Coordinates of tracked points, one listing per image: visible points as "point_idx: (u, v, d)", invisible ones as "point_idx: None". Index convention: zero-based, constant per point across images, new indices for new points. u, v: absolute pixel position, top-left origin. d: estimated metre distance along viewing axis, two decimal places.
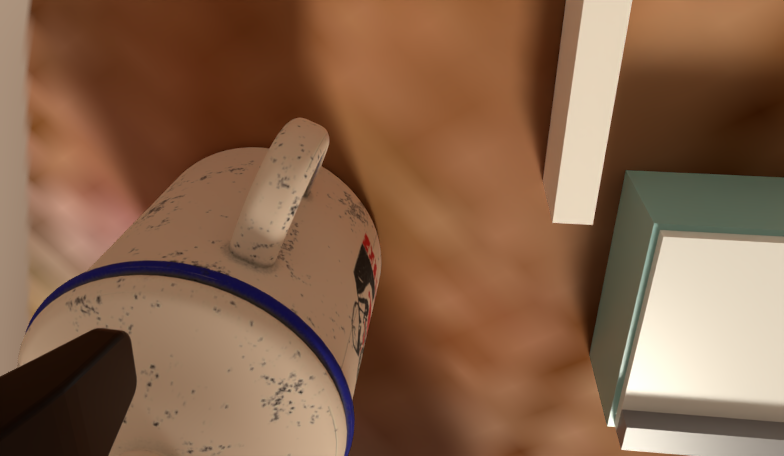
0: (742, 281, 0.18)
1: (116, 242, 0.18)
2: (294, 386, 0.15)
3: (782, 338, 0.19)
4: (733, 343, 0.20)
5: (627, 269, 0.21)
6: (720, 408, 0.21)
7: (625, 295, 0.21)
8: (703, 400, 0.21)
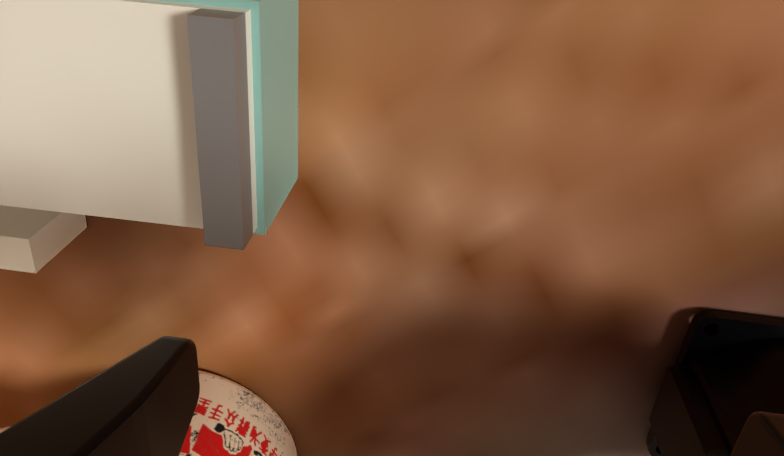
0: (2, 119, 0.16)
1: None
2: None
3: (65, 60, 0.15)
4: (87, 116, 0.16)
5: None
6: (192, 116, 0.15)
7: None
8: (184, 138, 0.16)
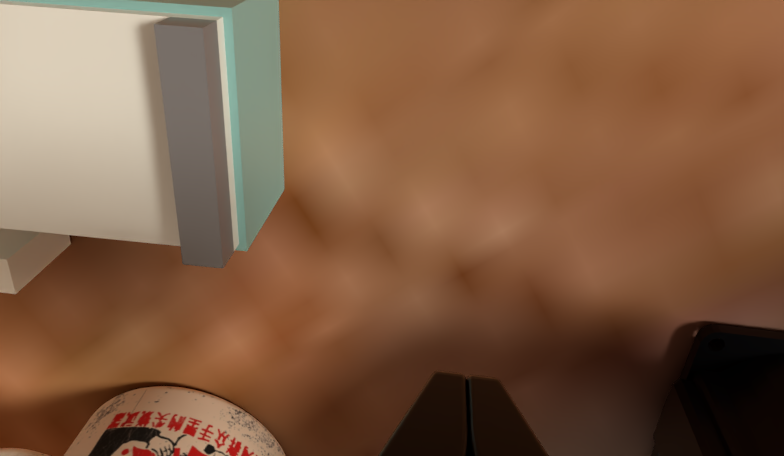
0: None
1: None
2: None
3: (31, 74, 0.14)
4: (57, 131, 0.15)
5: None
6: (166, 130, 0.15)
7: None
8: (158, 153, 0.15)
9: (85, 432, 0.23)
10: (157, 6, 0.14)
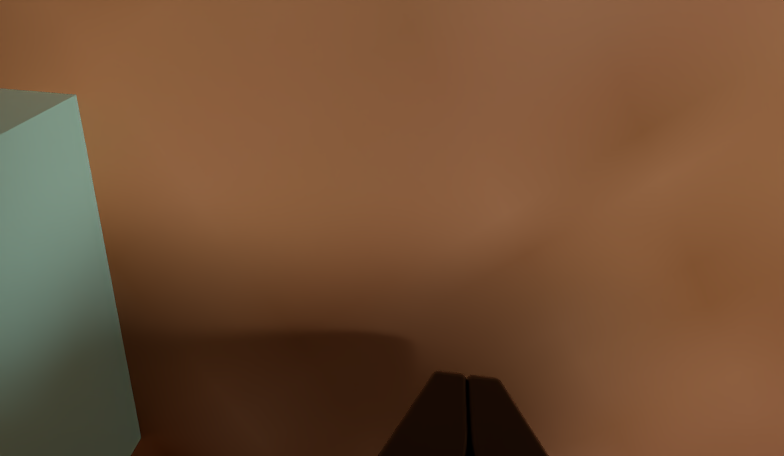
0: None
1: None
2: None
3: None
4: None
5: None
6: None
7: None
8: None
9: None
10: None
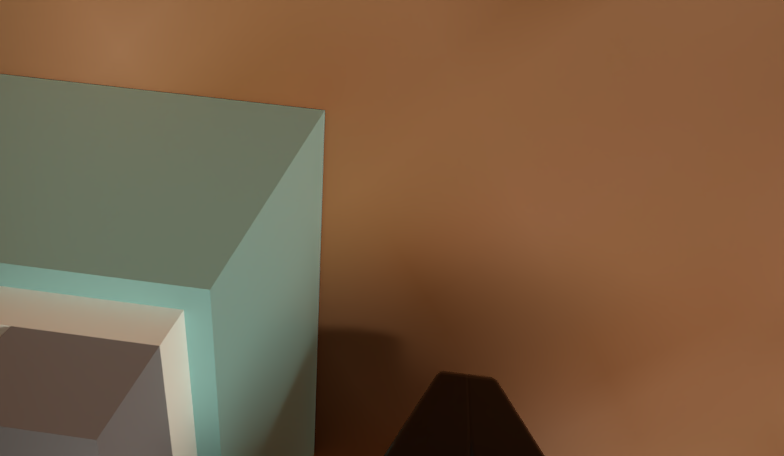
0: None
1: None
2: None
3: None
4: None
5: None
6: None
7: None
8: None
9: None
10: None
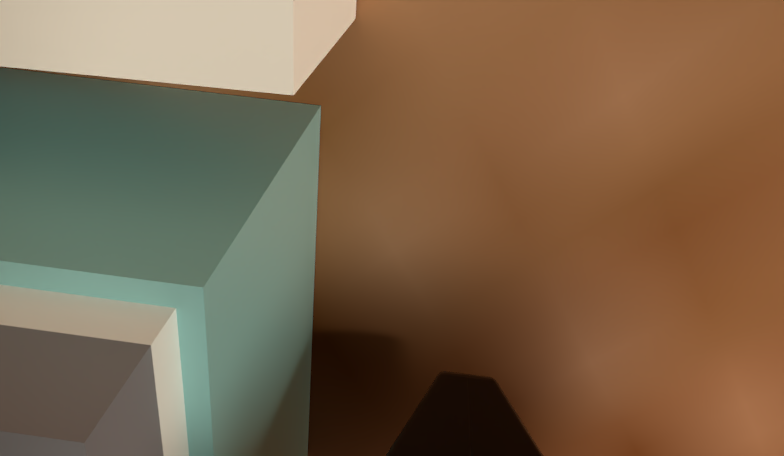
0: None
1: None
2: None
3: None
4: None
5: None
6: None
7: None
8: None
9: None
10: None
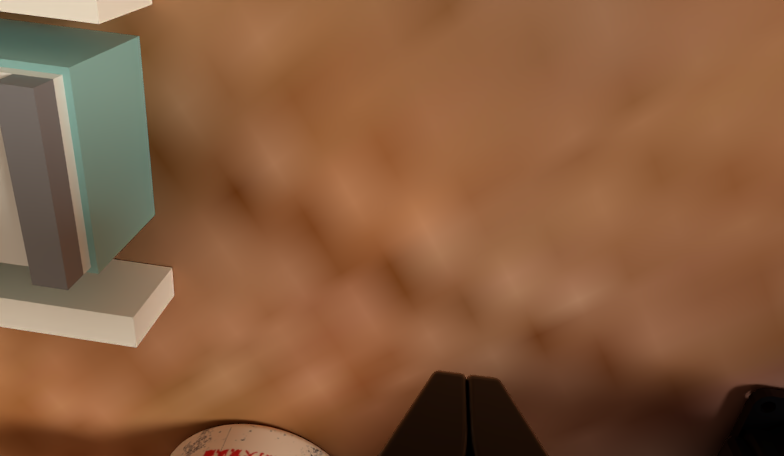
0: None
1: None
2: None
3: None
4: None
5: None
6: None
7: None
8: (11, 187, 0.17)
9: None
10: (5, 62, 0.16)
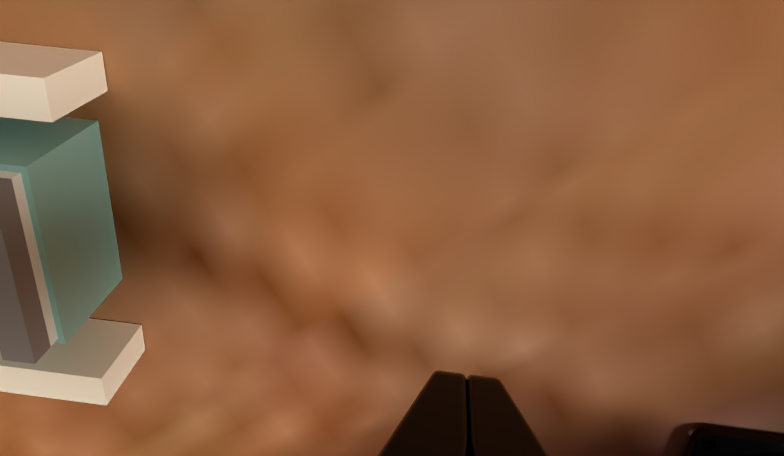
0: None
1: None
2: None
3: None
4: None
5: None
6: None
7: None
8: None
9: None
10: None
